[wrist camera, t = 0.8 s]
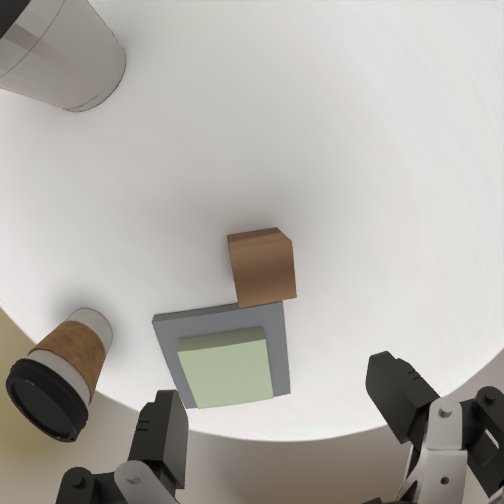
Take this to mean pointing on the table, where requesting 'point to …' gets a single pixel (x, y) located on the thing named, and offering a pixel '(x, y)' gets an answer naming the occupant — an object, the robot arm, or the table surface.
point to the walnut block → (262, 266)
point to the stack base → (222, 324)
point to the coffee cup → (62, 375)
